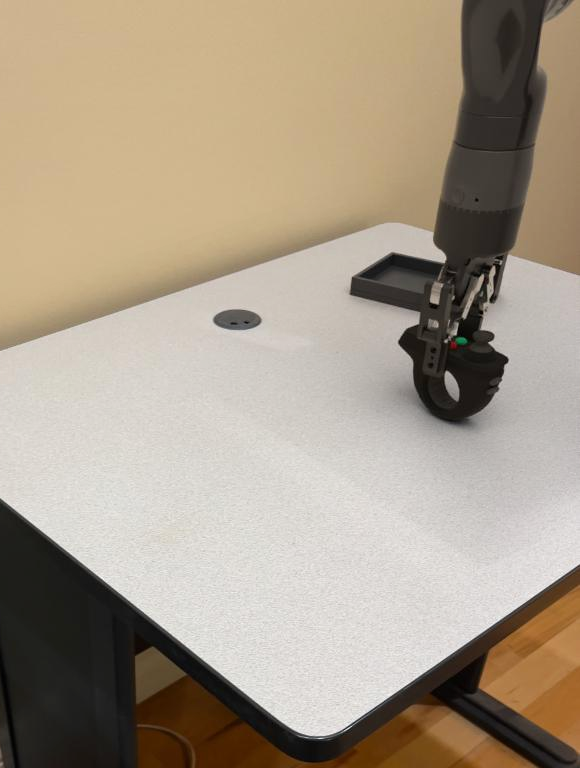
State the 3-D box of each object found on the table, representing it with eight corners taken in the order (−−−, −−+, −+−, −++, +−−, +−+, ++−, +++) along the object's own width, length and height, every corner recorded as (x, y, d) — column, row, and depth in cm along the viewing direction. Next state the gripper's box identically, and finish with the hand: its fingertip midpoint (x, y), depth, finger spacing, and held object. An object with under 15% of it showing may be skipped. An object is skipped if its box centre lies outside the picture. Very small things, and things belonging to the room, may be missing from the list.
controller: (470, 440, 92) (491, 349, 85) (384, 395, 100) (397, 308, 94) (499, 427, 94) (521, 337, 87) (412, 384, 102) (427, 298, 95)
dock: (499, 293, 119) (503, 275, 118) (462, 322, 113) (465, 303, 112) (389, 268, 128) (391, 251, 126) (349, 294, 122) (351, 276, 120)
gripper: (489, 223, 76) (452, 398, 87) (553, 180, 84) (512, 345, 95) (408, 208, 80) (383, 377, 91) (477, 168, 88) (446, 328, 99)
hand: (449, 360), depth 93 cm, fingers open, 7 cm apart
